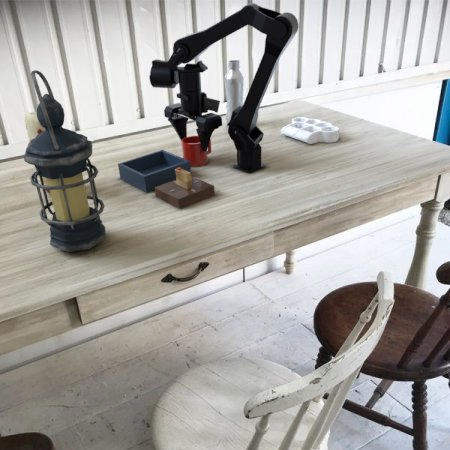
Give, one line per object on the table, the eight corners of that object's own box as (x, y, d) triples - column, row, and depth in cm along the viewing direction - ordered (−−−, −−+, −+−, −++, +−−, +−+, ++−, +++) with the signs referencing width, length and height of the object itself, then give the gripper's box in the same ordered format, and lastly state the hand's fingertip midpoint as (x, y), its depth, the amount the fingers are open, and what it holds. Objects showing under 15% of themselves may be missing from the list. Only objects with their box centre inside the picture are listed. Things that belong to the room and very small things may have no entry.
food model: (35, 189, 138) (15, 111, 126) (58, 181, 141) (41, 105, 129) (51, 200, 131) (31, 120, 120) (75, 192, 135) (58, 113, 123)
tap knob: (192, 188, 128) (190, 171, 126) (187, 189, 127) (186, 173, 125) (181, 182, 131) (179, 166, 128) (176, 184, 130) (175, 168, 128)
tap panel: (214, 195, 130) (214, 185, 129) (179, 209, 125) (178, 198, 123) (190, 183, 137) (189, 174, 135) (155, 196, 131) (154, 186, 129)
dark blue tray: (191, 176, 141) (190, 160, 138) (146, 192, 133) (144, 176, 131) (164, 164, 149) (162, 149, 146) (120, 179, 141) (117, 163, 139)
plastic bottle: (246, 128, 172) (245, 63, 160) (225, 129, 172) (223, 63, 160) (246, 122, 177) (245, 58, 165) (226, 123, 177) (223, 59, 166)
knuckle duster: (274, 134, 166) (307, 124, 173) (314, 148, 154) (348, 137, 161) (274, 123, 164) (307, 114, 171) (315, 137, 152) (349, 126, 159)
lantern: (111, 255, 108) (77, 76, 88) (46, 264, 106) (-4, 83, 86) (110, 224, 119) (79, 59, 99) (50, 231, 118) (7, 65, 97)
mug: (193, 168, 145) (191, 145, 141) (178, 162, 149) (176, 139, 146) (218, 159, 150) (217, 137, 146) (204, 153, 154) (202, 131, 150)
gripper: (236, 88, 136) (238, 147, 145) (192, 77, 147) (196, 133, 156) (203, 97, 130) (207, 158, 139) (160, 85, 142) (166, 142, 151)
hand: (194, 147), depth 146 cm, fingers open, 9 cm apart
